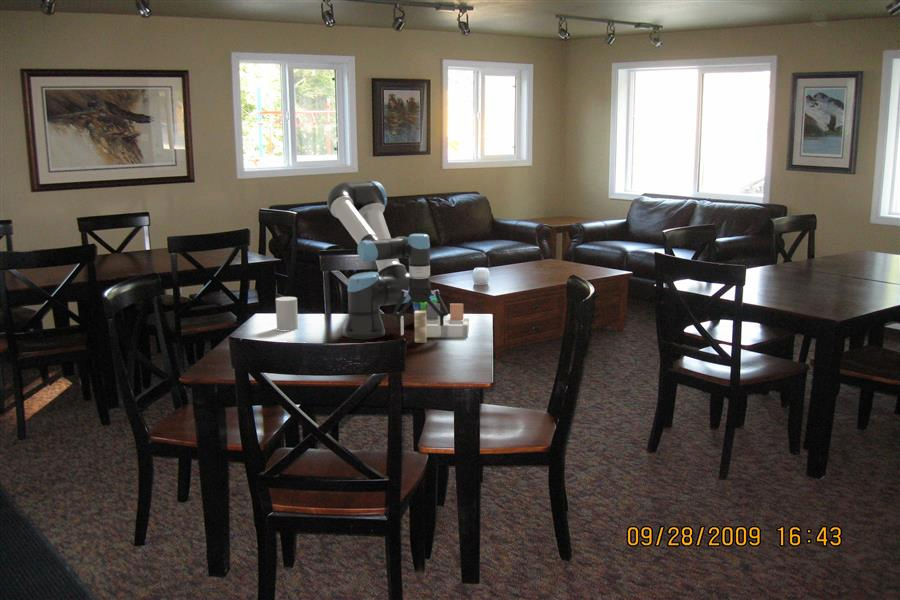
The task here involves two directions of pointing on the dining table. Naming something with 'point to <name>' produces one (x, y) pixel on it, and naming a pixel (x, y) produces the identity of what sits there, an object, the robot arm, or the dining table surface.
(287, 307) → the white cylinder
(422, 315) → the cream tall block
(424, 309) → the snack cup
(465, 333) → the socket block
